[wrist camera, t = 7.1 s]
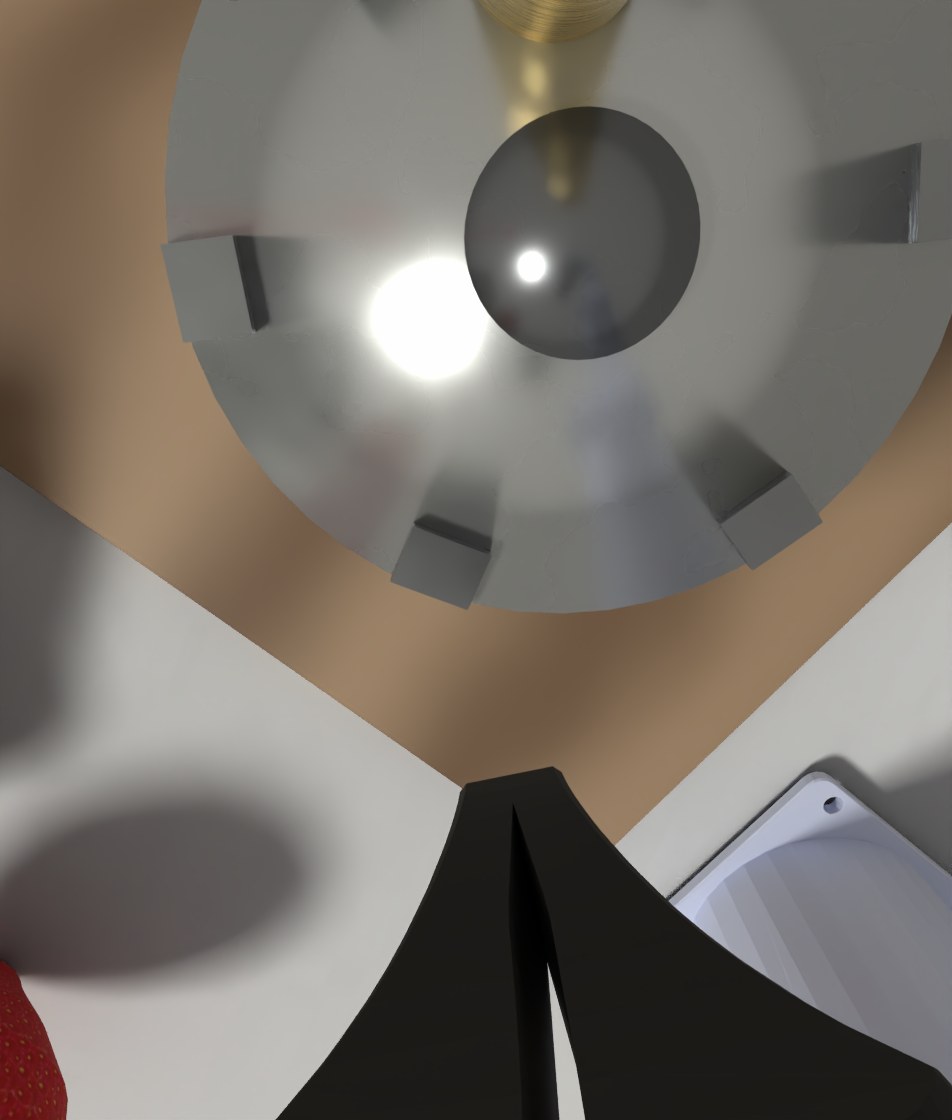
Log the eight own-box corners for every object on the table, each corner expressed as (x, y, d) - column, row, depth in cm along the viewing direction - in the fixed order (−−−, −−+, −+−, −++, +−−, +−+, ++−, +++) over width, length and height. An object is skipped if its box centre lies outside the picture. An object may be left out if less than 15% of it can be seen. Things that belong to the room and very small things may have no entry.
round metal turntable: (919, -238, 15) (1309, -633, 8) (890, 525, 20) (1126, 661, 13) (117, -134, 15) (-130, -448, 8) (282, 609, 19) (208, 789, 13)
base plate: (1263, 184, 19) (1322, 179, 17) (578, 849, 23) (586, 881, 22) (501, -845, 13) (509, -959, 12) (-193, 304, 18) (-239, 307, 17)
